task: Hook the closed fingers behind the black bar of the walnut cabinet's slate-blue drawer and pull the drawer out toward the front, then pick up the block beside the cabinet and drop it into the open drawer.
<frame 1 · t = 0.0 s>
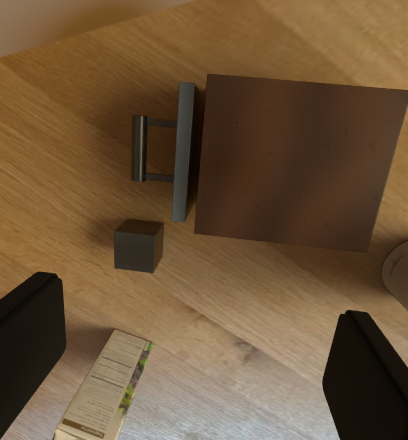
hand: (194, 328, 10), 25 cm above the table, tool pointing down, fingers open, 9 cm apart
syrup box: (128, 349, 42), on the table
drawer: (228, 157, 28), point 5 cm above the table, slide at 1.0 cm
block: (145, 237, 36), on the table
cabinet: (276, 157, 32), on the table
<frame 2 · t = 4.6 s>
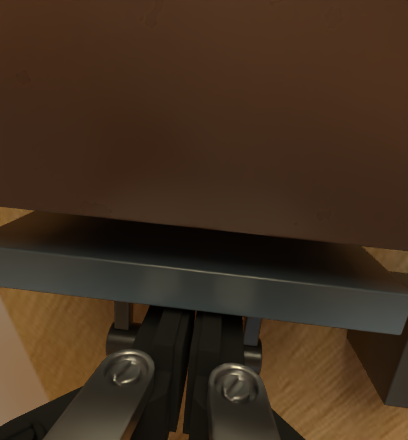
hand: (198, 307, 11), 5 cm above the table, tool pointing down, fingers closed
drawer: (203, 130, 10), point 5 cm above the table, slide at 1.4 cm, touching gripper
block: (396, 308, 16), on the table
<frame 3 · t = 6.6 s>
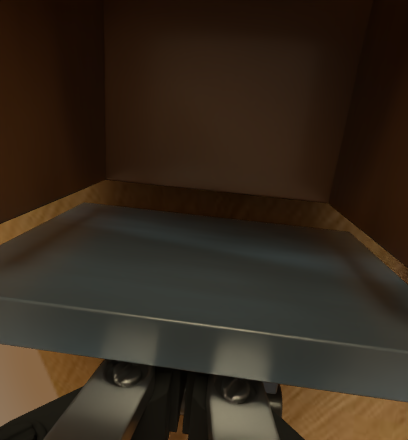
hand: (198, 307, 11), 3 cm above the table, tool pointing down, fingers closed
drawer: (216, 143, 8), point 5 cm above the table, slide at 8.1 cm
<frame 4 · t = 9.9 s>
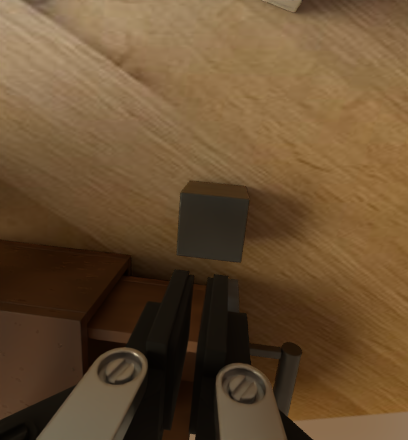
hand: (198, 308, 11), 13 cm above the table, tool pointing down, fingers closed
drawer: (172, 362, 23), point 5 cm above the table, slide at 8.0 cm
block: (215, 210, 24), on the table
cabinet: (53, 308, 28), on the table
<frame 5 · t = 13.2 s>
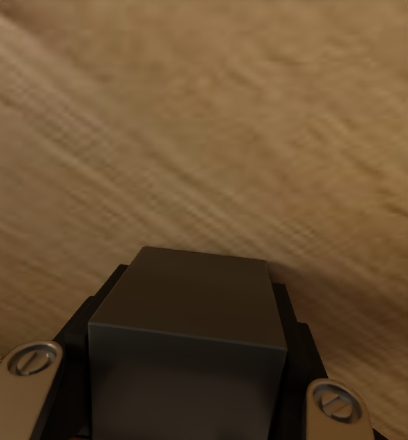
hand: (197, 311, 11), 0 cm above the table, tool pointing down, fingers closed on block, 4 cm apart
block: (198, 306, 11), on the table, touching gripper
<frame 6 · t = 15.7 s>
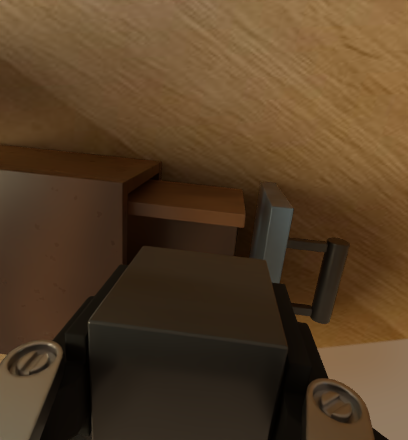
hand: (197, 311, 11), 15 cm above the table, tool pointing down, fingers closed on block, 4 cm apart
drawer: (208, 263, 22), point 5 cm above the table, slide at 8.0 cm
block: (198, 305, 11), point 15 cm above the table, touching gripper
cabinet: (78, 224, 27), on the table
when the fingers open (7 cm above the table, at t = 18.5 s): block drops 5 cm, point 2 cm above the table.
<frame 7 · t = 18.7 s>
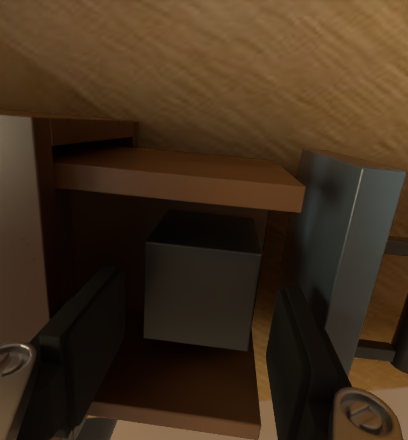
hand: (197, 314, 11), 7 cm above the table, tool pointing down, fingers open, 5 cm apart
drawer: (224, 277, 13), point 5 cm above the table, slide at 8.6 cm, touching gripper
block: (207, 253, 16), point 2 cm above the table
cabinet: (21, 218, 19), on the table
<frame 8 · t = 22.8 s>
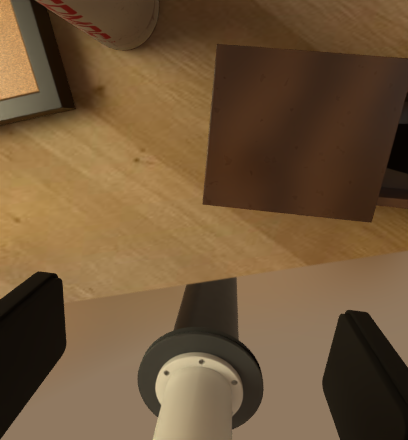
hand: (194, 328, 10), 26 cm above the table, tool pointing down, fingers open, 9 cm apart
thermos bottle: (121, 7, 31), on the table
cabinet: (281, 135, 33), on the table
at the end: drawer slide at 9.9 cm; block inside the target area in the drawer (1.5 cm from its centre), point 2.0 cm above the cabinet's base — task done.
